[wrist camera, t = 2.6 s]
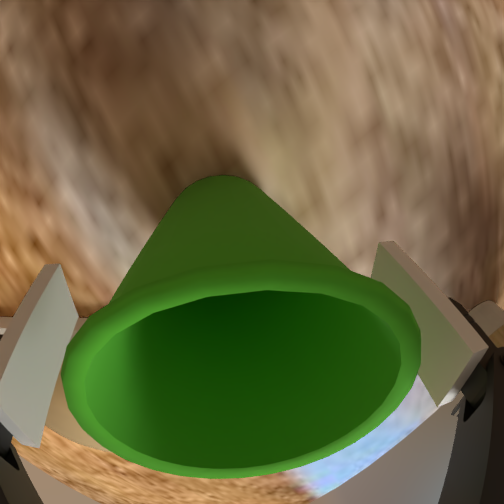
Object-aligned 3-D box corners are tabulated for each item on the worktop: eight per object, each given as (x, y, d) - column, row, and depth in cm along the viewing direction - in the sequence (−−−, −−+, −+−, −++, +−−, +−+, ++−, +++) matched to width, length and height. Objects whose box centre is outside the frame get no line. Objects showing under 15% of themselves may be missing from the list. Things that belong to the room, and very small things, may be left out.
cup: (212, 316, 19) (229, 491, 10) (98, 215, 15) (7, 399, 6) (336, 230, 17) (446, 391, 8) (236, 94, 13) (319, 141, 4)
